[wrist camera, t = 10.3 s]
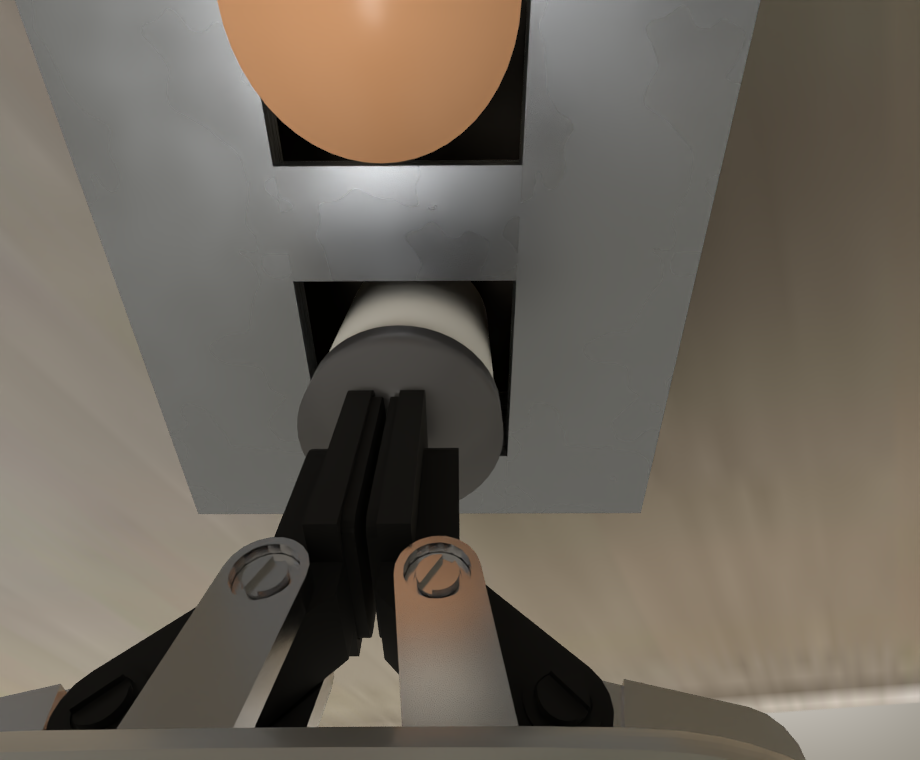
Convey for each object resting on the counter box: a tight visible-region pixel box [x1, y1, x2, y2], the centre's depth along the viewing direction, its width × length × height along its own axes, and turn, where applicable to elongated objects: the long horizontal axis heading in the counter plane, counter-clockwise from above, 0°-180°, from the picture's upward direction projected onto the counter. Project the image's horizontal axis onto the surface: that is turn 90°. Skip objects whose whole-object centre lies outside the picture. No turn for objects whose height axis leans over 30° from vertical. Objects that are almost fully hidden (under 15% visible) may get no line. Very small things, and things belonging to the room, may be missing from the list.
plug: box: [297, 281, 503, 500], centre depth 14 cm, size 5×5×6 cm
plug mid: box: [217, 0, 522, 163], centre depth 11 cm, size 5×5×6 cm
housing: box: [15, 0, 760, 514], centre depth 13 cm, size 14×26×6 cm, turn 0°
